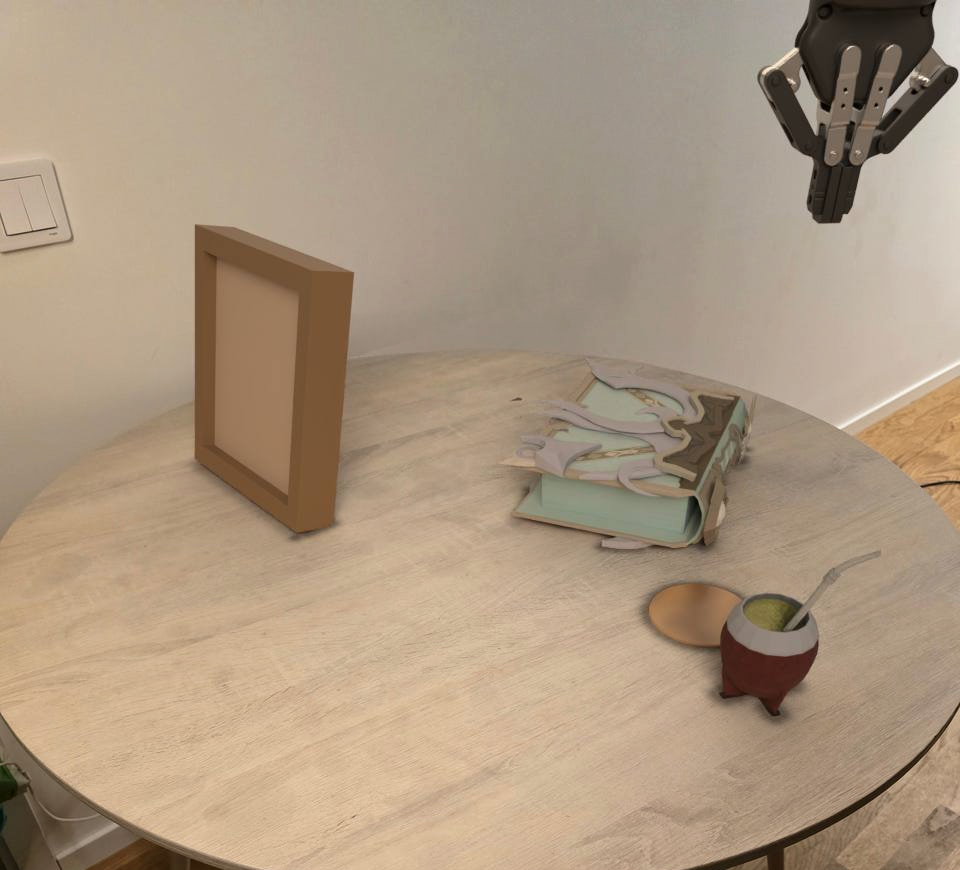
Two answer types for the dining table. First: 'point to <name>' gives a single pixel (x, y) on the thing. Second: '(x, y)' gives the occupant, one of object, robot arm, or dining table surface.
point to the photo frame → (270, 371)
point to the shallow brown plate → (692, 613)
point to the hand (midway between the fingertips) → (826, 220)
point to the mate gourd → (772, 642)
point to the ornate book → (635, 459)
